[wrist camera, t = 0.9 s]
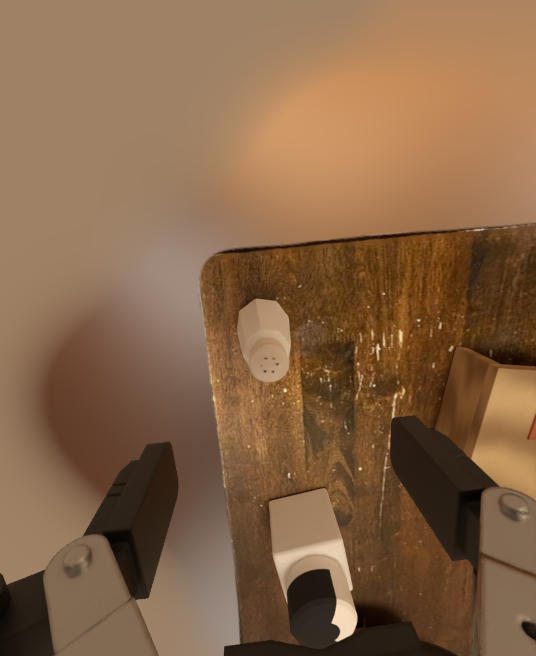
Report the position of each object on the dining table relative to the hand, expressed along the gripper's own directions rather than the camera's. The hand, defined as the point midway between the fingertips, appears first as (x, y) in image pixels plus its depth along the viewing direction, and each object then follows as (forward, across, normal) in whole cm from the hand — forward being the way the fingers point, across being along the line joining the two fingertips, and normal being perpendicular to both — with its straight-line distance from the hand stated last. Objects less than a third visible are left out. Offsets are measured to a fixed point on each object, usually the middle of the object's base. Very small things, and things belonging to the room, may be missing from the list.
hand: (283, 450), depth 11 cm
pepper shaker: (+21, 0, 0) cm, 21 cm away
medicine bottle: (+22, -3, +25) cm, 33 cm away
